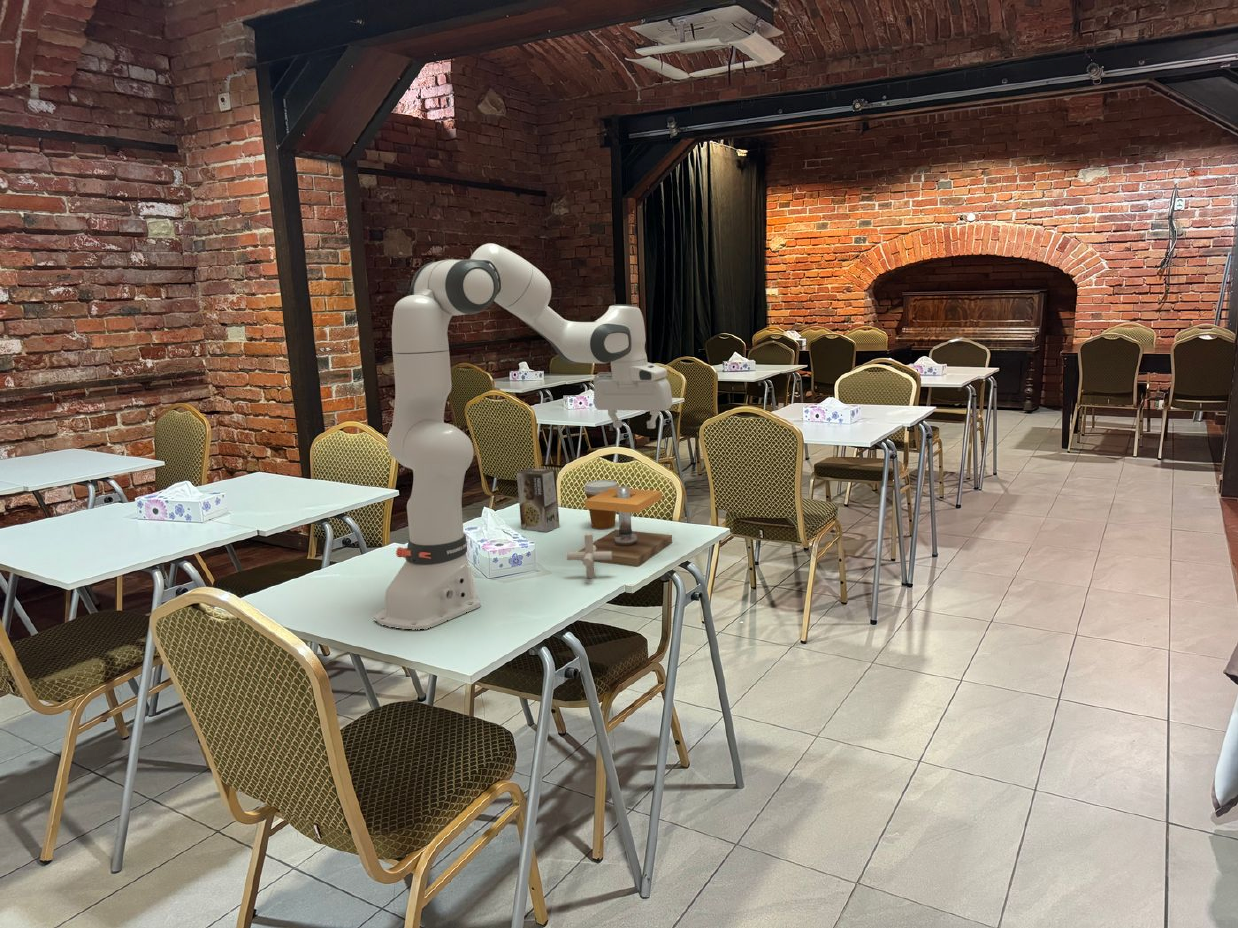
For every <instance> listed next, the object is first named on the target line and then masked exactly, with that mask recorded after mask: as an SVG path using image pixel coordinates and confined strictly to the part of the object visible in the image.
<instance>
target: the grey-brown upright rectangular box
mask: <svg viewBox="0 0 1238 928" xmlns="http://www.w3.org/2000/svg"><path fill="white" fill-rule="evenodd" d="M516 477H517V478H516V481H517V482H516V483H517V492H518V493H517V495H518V504H519V515H520V516H519V517H520V529H521V530H527V531H537V532H545V533H548V532H550V531H552V530H555V529H558V528H560V514H559V500H558V485H557V482H558V481H557V469H550V468H536V467H529V468H526V469H523V470H521V471H518V472H516Z"/></svg>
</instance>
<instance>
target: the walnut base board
mask: <svg viewBox="0 0 1238 928" xmlns="http://www.w3.org/2000/svg"><path fill="white" fill-rule="evenodd" d="M618 534H619V529H616V528H615V529H614V530H613V531H611V532H609V533H607V534H606V535H604V536H602V537H600V538H598V539H597V540H595V541H593V545H595V546H596V548H597V549H596V552H608V551H612V559H606V560H594V563H596V562H597V563H605V564H611V565H612V564H614V565H621V566H629V567H630V566H631V567H640V566H641V565H643V563H645V562H646V561H648V560H649V559H651V558H652V557H654V556H655V555H657V554H658V553H659V552H661V551H662V550H664V549H665V548H667V547H669V545H671V544H673V535H672V534H669V533H667V534H665V533H657V532H656V533H655V532H647V531H637V530H636V531H634V530H632V534H636V535H637V544H636V545H633V546H617V545H615V541H614V536H615V535H618ZM577 552H585V547H583V548H581V549H580V550H578V551H577Z"/></svg>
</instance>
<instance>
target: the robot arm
mask: <svg viewBox="0 0 1238 928" xmlns="http://www.w3.org/2000/svg"><path fill="white" fill-rule="evenodd" d="M551 297H552V285H551V282H550V280H549V279H548V278H547V276H546V275H545V274H544V273H543V272H542V271H541V270H540V269H538V268H537V267H536V266H534V265H533V264H532V263H530V262H529V261H528V260H527V259H524V258H523V257H522V256H520V255H518V254H517V253H515V252H513V251H511V250H510V249H508V248H506V247H503V246H500V245H499V244H496V243H490V242H488V243H485V244H482V245H480V246H479V247H478V248H476V249H475V250H474V252H473V253H472V254H471V256H470V258H468V259H467V258H465V259H454V258H449V259H443V260H439V261H431V262H429V263H426V264H423V266H421V267H420V268H419V269H418V270H417V271H416V272H415V274H414V275H413V277H412V280H411V285H410V289H409V291H408V293H407V296H404V297H402V298H401V299H400V300H398V301H397V302H396V303H395V305H394V307H393V308H394V309H393V312H392V314H393V315H392V321H391V322H392V324H391V349H392V360H393V361H392V362H393V373H394V387H395V396H394V406H393V407H394V408H393V415H392V422H391V423H392V424H391V425H392V426H391V427H390V429H389V431H388V434H387V437H386V447H387V450H388V452H389V454H390V455H391V456H392V457H393V458H394V459H395V461H396V462H397V463H399V464H400V465H401V466H403V467H405V468H407V469H410V470H412V475H413V478H412V479H413V482H412V489H411V494H410V497H409V499H408V501H407V504H406V511H407V512H406V513H407V522H408V524H407V525H408V533H409V539H408V541H407V542H408V543H407V547H405V548H404V547H400V546H398V547H397V548H396V551H395V555H396V557H397V558H404V559H405V562H404V564H403V565H402V566H401V568H400V570H399V571H398V573H397V574H396V575H395V577H394V578H393V580H392V581H391V582H390V583H389V585H388V586H387V588H386V590H385V595H384V608H382V609H381V610H380V611H379V612H377V613H376V614H375V615H373V620H374V619H375V620H376V621H377V622H378V623H380V624H383V625H386V626H390V627H389V628H391V627H398V628H403V629H402V630H404V629H412V630H411V631H419V630H420V629H424V630H428V628H429V629H431V628H433V627H435V626H438V625H440V624H443V623H445V622H448V621H450V620H453V619H455V618H457V617H459V616H460V617H461V616H462V615H465V614H466V612H467V613H469V612H471V611H474V610H476V609H478V608H480V607H481V606H482V605H481V601H480V600H479V599H478V596H477V594H476V593H477V592H476V588H475V582H474V577H473V573H472V568H471V566H470V563H469V561H468V558H467V553H468V541H467V536H466V534H465V532H464V523H463V522H464V521H463V506H462V498H463V497H462V496H463V488H464V481H465V475H466V471H467V470H468V469H469V467H470V466H471V464H472V462H473V459H474V445H473V442H472V440H471V439H470V438H469V436H468V435H467V434H466V433H465V432H464V431H462V430H461V429H459V428H458V427H457V426H455V425H453V424H451V423H447V422H445V421H444V415H445V411H446V410H445V408H446V403H447V399H448V396H449V394H451V391H452V384H453V383H452V374H451V373H452V371H451V360H450V358H451V356H450V347H449V337H448V332H449V331H448V328H449V324H450V321H451V319H452V317H453V316H462V315H463V316H464V315H476V314H478V313H482V312H483V311H485V310H486V309H488V308H489V307H490V306H491V305H492V304H493V302H495V304H497V305H499V306H500V307H502V308H503V309H504V310H505V311H506V310H507V311H508V312H509V313H511V314H513V315H514V316H516V317H517V318H519V319H520V320H521V321H522V322H524V324H526V325H527V326H528V327H530V328H531V329H532V330H534V331H535V332H537V334H539V335H540V336H541V337H542V338H544V339H546V341H547V342H549V343H550V345H551V346H552V347H553V349H554V351H555V352H556V354H557V355H558V356H559V357H560V359H561V360H562V361H564V362H566V363H569V364H573V365H574V364H575V365H576V364H583V363H584V364H608V363H610V369H611V371H606V372H603V371H600V372H598V373H597V374H595V375H594V376H593V387H594V390H593V406H594V407H595V409H596V410H597V411H607V414H608V416H609V417H610V419H611V421H612V426H613V428H616V429H617V428H618V429H619V428H622V426H623V425H622V423H623V422H622V419H619V418H618V416H617V412H618V411H649V415H651V417H650V420H646V428H647V429H649V430H651V429H655V428H656V426H657V425H656V421H657V418H658V417H659V414H660V411H661V412H662V411H663V412H664V411H667V410H669V409H671V407H672V405H673V395H672V388H671V383H670V382H669V380H668V379H667V378H666V377H667V376H668V369H667V368H666V367H663V366H660V365H657V364H654V363H652V362H648V357H647V353H646V348H645V347H646V346H645V344H646V341H647V340H646V329H645V328H646V327H645V321H644V316H643V314H642V311H641V309H640V308H639V307H638V306H636V305H634V304H621V303H620V304H619V303H618V304H612V305H610V306H609V307H608V309H607V311H606V312H605V313H604V314H603V315H602V316H600V317H599V318H597V320H594V321H573V320H567V319H564V318H563V317H562V316H561V315H559V313H557V312H555V311H554V310H553V309H552V308H551V307H550V306H548V305H549V303H550V301H551ZM447 620H448V621H447ZM378 623H377V624H378ZM380 624H379V625H380ZM383 625H382V626H383ZM386 626H385V627H386ZM430 627H431V628H430ZM415 629H416V630H415ZM417 629H418V630H417ZM420 631H421V630H420Z"/></svg>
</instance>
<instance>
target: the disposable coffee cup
mask: <svg viewBox="0 0 1238 928" xmlns="http://www.w3.org/2000/svg"><path fill="white" fill-rule="evenodd" d="M584 486H585V487H584V488H583V490H584V493H585V495H586V500H587V499H589V498H591V497H593V496H595V495H597V494H599V493H601V492H603V491H605V490H607V489H610V488H618V487H620V486H619V484H618V482H617V481H616V480H611V479H598V480H592V481H588V482H586V483H585V485H584ZM588 512H589V518H590V522H591V527H592V529H595V528H596V529H597V530H608V528H609V529H613V528H615V525H616V516H617V515H616V513H617V511H607V510H596V509H588Z"/></svg>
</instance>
